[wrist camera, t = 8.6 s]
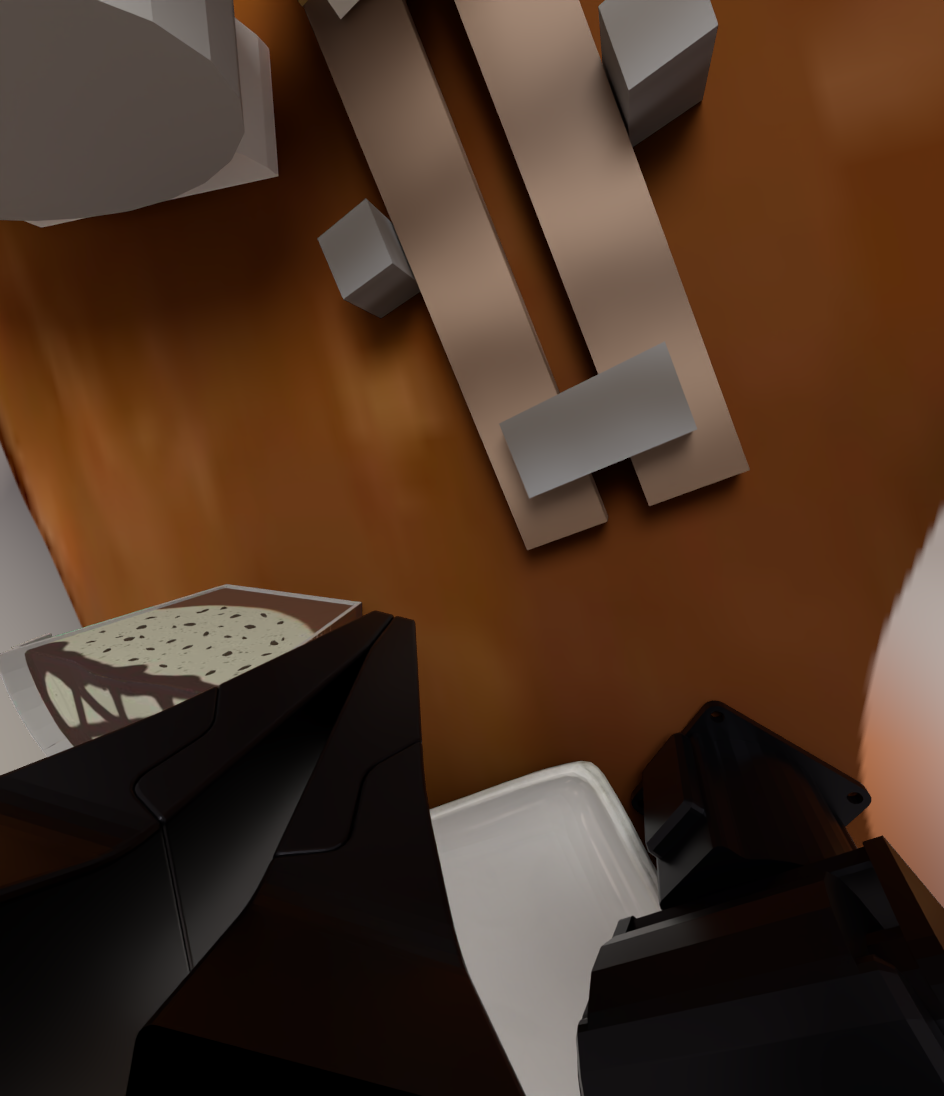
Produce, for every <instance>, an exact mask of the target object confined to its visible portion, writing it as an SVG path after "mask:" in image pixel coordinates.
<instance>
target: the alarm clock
mask: <svg viewBox="0 0 944 1096" xmlns="http://www.w3.org/2000/svg"><path fill="white" fill-rule="evenodd" d="M278 176H279V175H278V161H277V148H276V134H275V121H274V107H273V94H272V80H271V67H270V53H269V48H268V47H267V46H266V44H265V43H264V42H263V41H262V40H261V39H260V38H259V37H258V36H257V35H256V34H255V33H254V32H252V31H251V30H250V29H248V28H247V27H246V26H245V25H243V24H242V23H241V22H240V21H238V20H237V19H236V18H235V16H234V5H233V0H0V220H19V221H26V222H28V223H31V224H33V225H36V226H39V227H41V228H42V227H47V226H51V225H56V224H61V223H65V222H70V221H75V220H79V219H84V218H88V217H95V216H101V215H108V214H114V213H120V212H127V211H132V210H135V209H139V208H142V207H146V206H149V205H153V204H156V203H160V202H163V201H167V200H171V199H176V198H181V197H185V196H190V195H195V194H199V193H204V192H208V191H213V190H218V189H222V188H227V187H231V186H236V185H241V184H245V183H250V182H254V181H259V180H264V179H268V178H273V177H278Z"/></svg>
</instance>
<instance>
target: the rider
mask: <svg viewBox="0 0 944 1096" xmlns="http://www.w3.org/2000/svg"><path fill="white" fill-rule="evenodd" d="M358 1H359V0H328V2H329V3H330V5H331V6H332V7H333V9H334V10H335V12H336V13H337V15H338V16H339V18H340V19H342V18H343V17H344V15H345V14H346V13H347V12H348V11H349V10H350V9H351V8H352V7H353V6H354V5H355V4H356V3H357V2H358Z"/></svg>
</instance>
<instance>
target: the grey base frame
mask: <svg viewBox="0 0 944 1096" xmlns="http://www.w3.org/2000/svg"><path fill="white" fill-rule="evenodd" d="M297 1H298V2H299V3H300V5H301V6H303V7H304V9H305V12H306V14H307V16H308V19H309V21H310V24H311V26H312V29H313V31H314V33H315V36H316V38H317V41H318V43H319V46H320V48H321V51H322V53H323V55H324V58H325V60H326V63H327V65H328V68H329V70H330V72H331V75H332V77H333V80H334V82H335V85H336V87H337V89H338V92H339V94H340V97H341V99H342V102H343V104H344V106H345V109H346V111H347V114H348V116H349V119H350V121H351V123H352V126H353V128H354V131H355V133H356V136H357V138H358V140H359V143H360V145H361V148H362V150H363V153H364V155H365V157H366V160H367V162H368V165H369V167H370V170H371V172H372V174H373V177H374V179H375V182H376V184H377V187H378V189H379V191H380V194H381V196H382V199H383V201H384V204H385V206H386V208H387V211H388V213H389V216H390V218H391V221H392V222H391V221H390V220H389V219H387V218H386V217H385V216H384V215H383V214H382V213H381V212H380V211H379V210H378V209H377V208H376V207H375V206H374V205H372V204H371V203H370V202H369V201H368V200H367V199H365V200H363V201H362V202H361V203H360V204H359V205H357V206H356V207H355V208H354V209H353V210H351V211H350V212H349V213H348V214H346V215H345V216H344V217H343V218H342V219H340V220H339V221H338V222H337V223H336V224H334V225H333V226H332V227H331V228H330V229H328V230H327V231H326V232H325V233H323V234H322V235H321V236H320V237H319V238H317V239H318V241H319V243H320V246H321V248H322V250H323V253H324V255H325V258H326V260H327V262H328V265H329V267H330V269H331V272H332V274H333V276H334V279H335V281H336V283H337V286H338V288H339V290H340V293H341V295H342V297H343V299H344V300H346V301H348V302H350V303H352V304H354V305H356V306H358V307H360V308H362V309H364V310H366V311H367V312H369V313H371V314H373V315H375V316H377V317H379V318H382V317H384V316H385V315H387V314H388V313H390V312H391V311H393V310H394V309H395V308H397V307H398V306H400V305H401V304H403V303H404V302H406V301H407V300H409V299H410V298H412V297H413V296H415V295H416V294H418V293H419V292H420V291H421V293H422V296H423V298H424V301H425V303H426V306H427V308H428V310H429V313H430V315H431V318H432V320H433V323H434V325H435V327H436V330H437V332H438V335H439V337H440V340H441V342H442V344H443V347H444V349H445V352H446V354H447V357H448V359H449V361H450V364H451V366H452V369H453V371H454V374H455V376H456V378H457V381H458V383H459V386H460V388H461V391H462V393H463V396H464V398H465V400H466V403H467V405H468V408H469V410H470V413H471V415H472V417H473V420H474V422H475V425H476V427H477V430H478V432H479V434H480V437H481V439H482V442H483V444H484V447H485V449H486V451H487V454H488V456H489V459H490V461H491V464H492V466H493V468H494V471H495V473H496V476H497V478H498V481H499V483H500V485H501V488H502V490H503V493H504V495H505V498H506V500H507V502H508V505H509V507H510V510H511V512H512V515H513V517H514V519H515V522H516V524H517V527H518V529H519V532H520V534H521V536H522V539H523V541H524V544H525V546H526V549H527V550H530V549H533V548H535V547H538V546H541V545H544V544H546V543H549V542H552V541H555V540H558V539H560V538H563V537H566V536H569V535H571V534H574V533H577V532H580V531H582V530H585V529H588V528H591V527H593V526H596V525H599V524H602V523H604V522H607V520H608V514H607V512H606V509H605V507H604V504H603V501H602V499H601V496H600V494H599V491H598V489H597V486H596V484H595V481H594V479H593V476H592V474H591V473H592V472H595V471H597V470H600V469H602V468H605V467H607V466H609V465H612V464H614V463H617V462H619V461H622V460H624V459H626V458H629V457H630V458H631V460H632V463H633V466H634V468H635V471H636V473H637V476H638V479H639V481H640V484H641V486H642V489H643V492H644V494H645V497H646V499H647V502H648V505H649V506H651V505H654V504H657V503H660V502H663V501H665V500H668V499H671V498H674V497H676V496H679V495H682V494H685V493H687V492H690V491H693V490H696V489H698V488H701V487H704V486H707V485H710V484H712V483H715V482H718V481H721V480H723V479H726V478H729V477H732V476H734V475H737V474H740V473H743V472H745V471H748V470H750V469H749V466H748V464H747V461H746V458H745V455H744V453H743V450H742V447H741V444H740V442H739V439H738V436H737V433H736V431H735V428H734V425H733V422H732V420H731V417H730V414H729V411H728V409H727V406H726V403H725V400H724V398H723V395H722V392H721V389H720V387H719V384H718V381H717V378H716V376H715V373H714V370H713V367H712V365H711V362H710V359H709V356H708V354H707V351H706V348H705V345H704V343H703V340H702V337H701V334H700V332H699V329H698V326H697V323H696V321H695V318H694V315H693V312H692V310H691V307H690V304H689V301H688V299H687V296H686V293H685V290H684V288H683V285H682V282H681V280H680V277H679V274H678V271H677V269H676V266H675V263H674V260H673V258H672V255H671V252H670V249H669V247H668V244H667V241H666V238H665V236H664V233H663V230H662V227H661V225H660V222H659V219H658V216H657V214H656V211H655V208H654V205H653V203H652V200H651V197H650V194H649V192H648V189H647V186H646V183H645V181H644V178H643V175H642V172H641V170H640V167H639V164H638V161H637V159H636V156H635V153H634V150H633V148H632V147H634V146H635V145H637V144H638V143H640V142H641V141H643V140H644V139H646V138H647V137H649V136H650V135H652V134H653V133H655V132H656V131H657V130H659V129H660V128H662V127H663V126H665V125H666V124H668V123H669V122H671V121H672V120H674V119H675V118H677V117H678V116H680V115H681V114H682V113H684V112H685V111H687V110H688V109H690V108H691V107H693V106H694V105H696V104H697V103H699V102H700V101H702V100H703V95H704V90H705V85H706V81H707V76H708V71H709V67H710V62H711V57H712V52H713V48H714V43H715V38H716V33H717V29H718V23H717V20H716V17H715V14H714V11H713V8H712V5H711V2H710V0H605V1H604V2H603V3H602V4H600V5H599V6H598V8H599V22H600V36H601V49H602V62H601V60H600V57H599V54H598V51H597V49H596V46H595V43H594V40H593V38H592V35H591V32H590V29H589V27H588V24H587V21H586V18H585V16H584V13H583V10H582V7H581V5H580V2H579V0H454V1H455V4H456V6H457V9H458V11H459V14H460V17H461V19H462V22H463V24H464V27H465V30H466V32H467V35H468V37H469V40H470V42H471V45H472V48H473V50H474V53H475V55H476V58H477V61H478V63H479V66H480V68H481V71H482V74H483V76H484V79H485V81H486V84H487V87H488V89H489V92H490V94H491V97H492V100H493V102H494V105H495V107H496V110H497V113H498V115H499V118H500V120H501V123H502V126H503V128H504V131H505V133H506V136H507V139H508V141H509V144H510V146H511V149H512V151H513V154H514V157H515V159H516V162H517V164H518V167H519V170H520V172H521V175H522V177H523V180H524V183H525V185H526V188H527V190H528V193H529V196H530V198H531V201H532V203H533V206H534V209H535V211H536V214H537V216H538V219H539V222H540V224H541V227H542V229H543V232H544V235H545V237H546V240H547V242H548V245H549V248H550V250H551V253H552V255H553V258H554V261H555V263H556V266H557V268H558V271H559V273H560V276H561V279H562V281H563V284H564V286H565V289H566V292H567V294H568V297H569V299H570V302H571V305H572V307H573V310H574V312H575V315H576V318H577V320H578V323H579V325H580V328H581V331H582V333H583V336H584V338H585V341H586V344H587V346H588V349H589V351H590V354H591V357H592V359H593V362H594V364H595V367H596V370H597V372H598V375H596V376H594V377H592V378H590V379H588V380H586V381H584V382H582V383H580V384H578V385H576V386H574V387H572V388H570V389H568V390H566V391H564V392H562V393H560V392H559V390H558V387H557V385H556V382H555V380H554V377H553V374H552V372H551V369H550V367H549V364H548V362H547V359H546V357H545V354H544V352H543V349H542V346H541V344H540V341H539V339H538V336H537V334H536V331H535V329H534V326H533V324H532V321H531V319H530V316H529V313H528V311H527V308H526V306H525V303H524V301H523V298H522V296H521V293H520V291H519V288H518V286H517V283H516V280H515V278H514V275H513V273H512V270H511V268H510V265H509V263H508V260H507V258H506V255H505V253H504V250H503V247H502V245H501V242H500V240H499V237H498V235H497V232H496V230H495V227H494V225H493V222H492V219H491V217H490V214H489V212H488V209H487V207H486V204H485V202H484V199H483V197H482V194H481V192H480V189H479V186H478V184H477V181H476V179H475V176H474V174H473V171H472V169H471V166H470V164H469V161H468V159H467V156H466V153H465V151H464V148H463V146H462V143H461V141H460V138H459V136H458V133H457V131H456V128H455V126H454V123H453V120H452V118H451V115H450V113H449V110H448V108H447V105H446V103H445V100H444V98H443V95H442V92H441V90H440V87H439V85H438V82H437V80H436V77H435V75H434V72H433V70H432V67H431V65H430V62H429V59H428V57H427V54H426V52H425V49H424V47H423V44H422V42H421V39H420V37H419V34H418V32H417V29H416V26H415V24H414V21H413V19H412V16H411V14H410V11H409V9H408V6H407V4H406V1H405V0H359V1H358V2H357V3H356V4H355V5H354V6H353V7H352V8H351V9H350V10H349V11H348V12H347V13H346V14H345V15H344V17H343V18H342V19H340V18H339V16H338V15H337V13H336V12H335V10H334V9H333V7H332V6H331V5H330V3H329V2H328V0H297ZM602 63H603V65H602Z"/></svg>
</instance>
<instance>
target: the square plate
mask: <svg viewBox="0 0 944 1096" xmlns="http://www.w3.org/2000/svg"><path fill="white" fill-rule="evenodd" d="M429 810H430V816H431V821H432V826H433V831H434V836H435V840H436V845H437V850H438V854H439V859H440V864H441V868H442V873H443V878H444V882H445V887H446V892H447V896H448V901H449V906H450V910H451V914H452V918H453V923H454V927H455V931H456V934H457V938H458V942H459V945H460V949H461V952H462V955H463V958H464V961H465V964H466V967H467V970H468V973H469V975H470V977H471V979H472V982H473V984H474V986H475V988H476V990H477V992H478V994H479V997H480V999H481V1001H482V1003H483V1005H484V1007H485V1009H486V1011H487V1014H488V1016H489V1018H490V1020H491V1022H492V1024H493V1026H494V1028H495V1031H496V1033H497V1035H498V1037H499V1039H500V1041H501V1043H502V1045H503V1048H504V1050H505V1052H506V1054H507V1056H508V1058H509V1060H510V1062H511V1065H512V1067H513V1069H514V1071H515V1073H516V1075H517V1077H518V1079H519V1082H520V1084H521V1086H522V1088H523V1090H524V1092H525V1094H526V1096H580V1090H579V1082H578V1066H577V1047H576V1033H577V1027H578V1023H579V1021H580V1020H582V1016H583V1013H584V1011H585V1008H586V1005H587V1003H588V1000H589V990H590V979H591V971H592V968H593V966H594V963H595V961H596V958H597V955H598V953H599V950H600V948H601V946H602V945H604V944H605V943H606V942H608V941H609V940H610V939H612V937H613V934H614V931H615V929H616V926H617V924H618V921H619V920H620V919H623V918H627V917H630V916H634V917H636V919H637V918H640V917H643V916H646V915H649V914H652V913H656V912H659V911H662V910H661V909H660V905H659V892H658V876H657V871H656V869H655V867H654V865H653V863H652V861H651V859H650V857H649V855H648V853H647V851H646V849H645V847H644V845H643V843H642V842H641V840H640V838H639V836H638V834H637V832H636V830H635V828H634V826H633V824H632V822H631V820H630V819H629V817H628V815H627V813H626V811H625V810H624V808H623V806H622V804H621V802H620V800H619V799H618V797H617V795H616V794H615V792H614V790H613V789H612V787H611V785H610V784H609V782H608V780H607V779H606V777H605V775H604V774H603V773H602V772H601V770H600V769H599V768H598V767H597V766H595V765H594V764H593V763H591V762H587V761H577V762H572V763H567V764H562V765H558V766H554V767H550V768H547V769H543V770H540V771H537V772H533V773H530V774H528V775H525V776H522V777H519V778H517V779H513V780H510V781H507V782H504V783H501V784H499V785H496V786H494V787H491V788H488V789H485V790H482V791H480V792H477V793H474V794H471V795H469V796H466V797H463V798H460V799H457V800H454V801H452V802H449V803H446V804H443V805H440V806H438V807H435V808H432V809H429Z"/></svg>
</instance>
